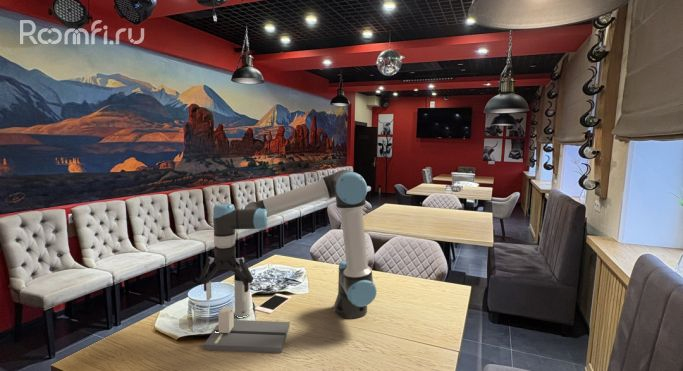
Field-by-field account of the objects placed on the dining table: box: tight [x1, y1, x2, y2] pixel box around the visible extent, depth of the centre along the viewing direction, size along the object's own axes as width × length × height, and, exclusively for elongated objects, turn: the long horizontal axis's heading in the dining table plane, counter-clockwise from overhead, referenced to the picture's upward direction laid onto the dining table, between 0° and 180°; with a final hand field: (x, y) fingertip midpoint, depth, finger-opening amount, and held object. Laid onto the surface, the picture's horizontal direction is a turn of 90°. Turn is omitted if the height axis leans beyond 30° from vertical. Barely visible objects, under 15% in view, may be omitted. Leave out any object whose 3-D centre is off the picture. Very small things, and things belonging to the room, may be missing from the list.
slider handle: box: [217, 305, 235, 333], centre depth 133 cm, size 4×5×10 cm
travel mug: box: [233, 269, 251, 317], centre depth 149 cm, size 6×7×20 cm
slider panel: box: [203, 319, 291, 354], centre depth 133 cm, size 28×18×2 cm, turn 88°
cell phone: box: [254, 293, 292, 315], centre depth 162 cm, size 9×18×1 cm, turn 157°
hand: (226, 299), depth 132 cm, fingers open, 13 cm apart
